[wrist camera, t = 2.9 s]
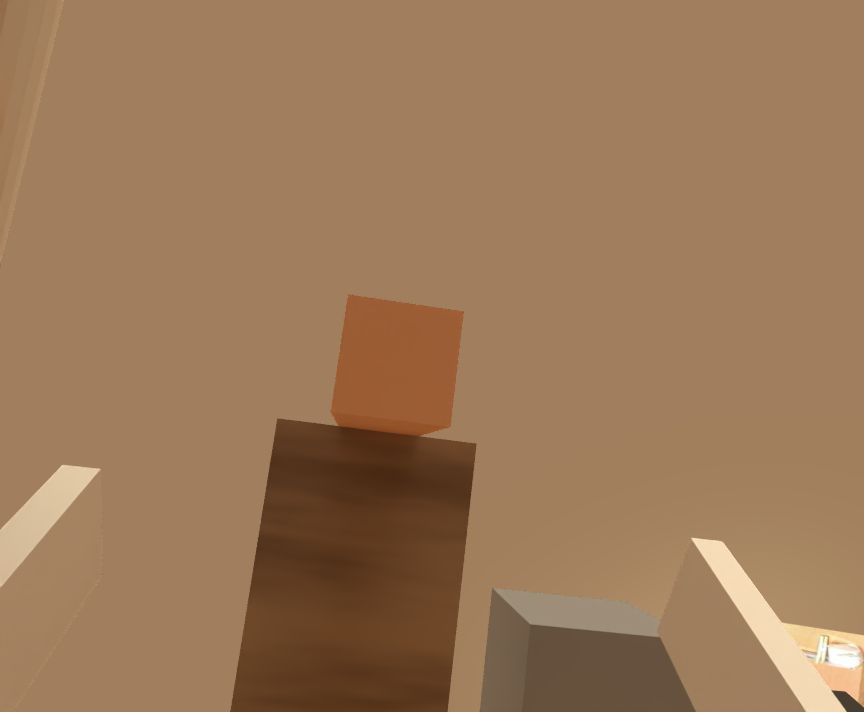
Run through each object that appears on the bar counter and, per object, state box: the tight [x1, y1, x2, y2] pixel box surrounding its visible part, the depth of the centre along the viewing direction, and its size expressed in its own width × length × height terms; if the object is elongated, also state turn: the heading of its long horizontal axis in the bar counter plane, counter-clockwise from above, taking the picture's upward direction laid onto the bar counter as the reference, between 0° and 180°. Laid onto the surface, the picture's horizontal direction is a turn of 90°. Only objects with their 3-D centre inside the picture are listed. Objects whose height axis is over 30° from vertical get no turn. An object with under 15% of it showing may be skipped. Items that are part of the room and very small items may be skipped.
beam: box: [331, 295, 464, 436], centre depth 35 cm, size 26×4×4 cm, turn 7°
